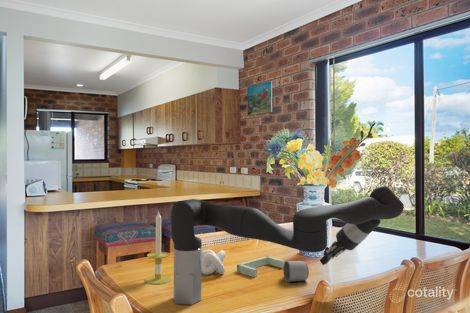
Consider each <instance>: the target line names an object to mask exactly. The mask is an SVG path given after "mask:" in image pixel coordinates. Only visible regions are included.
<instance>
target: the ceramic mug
mask: <svg viewBox="0 0 470 313" xmlns="http://www.w3.org/2000/svg"><path fill="white" fill-rule="evenodd" d="M284 261H285V263H284V266H283V268H282V271H283V277H284V280H285V281H286V282H289V283H290V282H301V281H306V280H307V279H308V278H309V274H310V273H309V266H308V264H307V263H306V262H305V261H303V260H284Z"/></svg>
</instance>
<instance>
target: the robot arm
mask: <svg viewBox="0 0 470 313" xmlns="http://www.w3.org/2000/svg"><path fill="white" fill-rule="evenodd" d="M404 208H405V207H404V203H403V202H402V200H400V199H399V198H398V196H397V195H396V194H395V193H394V192H393V191H392V190H391V189H390V188H389V187H388V186H386V185H379V186H376V188H374V189H373V190H372V192H371V193H370V194H369V196H364V197H362V198H358V199H356V200H352V201H349V202H344V203H339V204H328V205H321V206H316V207H315V206H313V207H309V208H308V207H307V208H305V209H300V210H298V211H296V212H295V213H294V214H293V217H292V230H290V229H289V228H288V229H287V228H285V227H283V226H280V225H279V224H278V223H276V222H275V221H274V220H273V219H272V218H270V217H269V216H268V215H267V214H265V213H264V212H263V211H261V210H260V209H258V208H254V207H249V206H242V205H230V204H215V203H212V202H208V201H204V200H201V199H197V198H190V199H189V198H188V199H183V200H179V201H178V200H177V201H176V202H175V203H174V204H173V206H172V207H171V210H170V233H171V234H170V236H171V239H172V243H173V301H174V304H175V305H177V304H178V305H192V306H193V305H195V304H196V303H198V302H200V301H201V300H202V273H201V256H202V252H203V251H202V245H203V243H202V241H203V240H202V239H201V238H200V237H199V236H196V234H195V228H194V227H196V226H197V227H198V226H208V227H209V226H211V227H216V228H219V229H221V230H222V231H224V232H225V233H227V234H229V235H231V236H235V237H239V238H246V239H253V240H258V241H264V242H269V243H273V244H277V245H281V246H283V247H287V248H290V249H294V250H298V251H302V252H306V253H320V252H323V257H321V258H320V259H319V262H320V263H321V265H323V266H324V265H327V264H328V263H329V262H330V261H331V260H333V259H334V258H337V257H338V256H340V255H342V253H345V252H346V251H353V250H354V249H356V247H358V246H359V245H360V244H361V243H363V241H364V240H366V239H367V237H368V236H369V235H370V234H371V233H372V232H373V231H375V229H376V228H377V227H378V226H379V225H380V224H381V220H392V219H396V218H398V217H399V216H400V215H402V213H403V212H404ZM331 219H337V220H339V221H342V222H344V223H345V225H343V227H341V229H339V230H338V231H337V232H336V235H335V238H336V241H333V242H332V243H331V245H330V246H329V247H327V246H328V223H327V221H328V220H331Z"/></svg>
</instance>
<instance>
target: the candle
mask: <svg viewBox="0 0 470 313" xmlns="http://www.w3.org/2000/svg"><path fill="white" fill-rule="evenodd" d="M146 257H147V258H148V259H154V275H151V276H148V277H146V278H145V280H144V283H146V284H148V285H156V286H157V285H163V284H167V283H169V282H170V281H172V277H171V276H169V275H165V274H164V275H163V274H162V259H165V258H167V257H170V253H169V252H166V251H162V216H161V214H160V210H158V211H157V214H156V216H155V251H154V252H153V251H152V252H149V253H148V254H146Z"/></svg>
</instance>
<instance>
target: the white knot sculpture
mask: <svg viewBox="0 0 470 313" xmlns="http://www.w3.org/2000/svg"><path fill="white" fill-rule="evenodd" d="M226 254H227V253H226V251H224V250H222V249H221V250H219V251H218V252H217V253H215V251H213V250H211V249H205V250H203V251H202V256H201V274H203V275H205V276H209V275H211V274H213V273H214V272H215V271H217V273H218V274H219V275H224V274H225V273H226V268H225V266H224V264H223V262H224V260H225V259H226Z"/></svg>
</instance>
